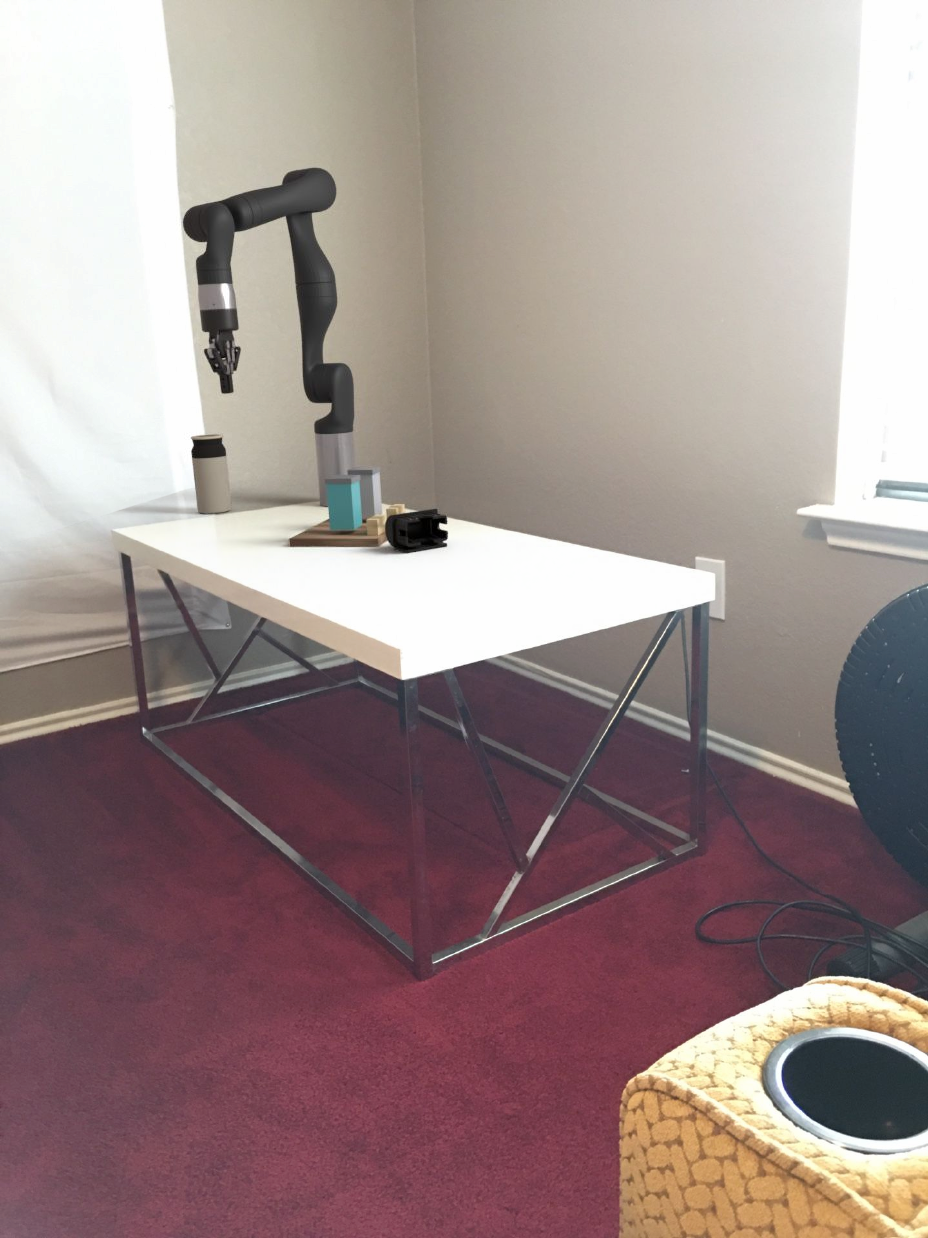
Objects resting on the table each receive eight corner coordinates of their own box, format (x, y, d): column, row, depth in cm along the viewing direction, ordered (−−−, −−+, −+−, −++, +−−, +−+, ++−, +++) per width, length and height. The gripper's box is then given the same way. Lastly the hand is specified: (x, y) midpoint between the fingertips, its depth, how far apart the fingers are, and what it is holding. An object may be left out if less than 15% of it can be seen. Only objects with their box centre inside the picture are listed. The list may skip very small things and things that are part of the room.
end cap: (430, 541, 201) (428, 506, 199) (450, 546, 195) (448, 510, 193) (385, 548, 195) (383, 513, 194) (404, 554, 190) (402, 517, 188)
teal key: (337, 524, 208) (334, 475, 205) (363, 524, 207) (360, 474, 204) (328, 529, 203) (324, 478, 200) (354, 529, 202) (351, 478, 199)
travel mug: (237, 508, 251) (230, 433, 247) (222, 514, 244) (214, 437, 239) (207, 508, 253) (199, 434, 248) (192, 514, 246) (183, 437, 241)
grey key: (359, 513, 220) (355, 466, 217) (383, 513, 219) (380, 466, 216) (350, 518, 215) (347, 470, 212) (375, 518, 214) (372, 469, 211)
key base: (335, 522, 226) (333, 502, 225) (414, 522, 222) (413, 501, 221) (289, 546, 201) (287, 523, 200) (378, 546, 197) (376, 523, 196)
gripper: (220, 306, 207) (230, 395, 212) (248, 306, 219) (257, 390, 224) (186, 308, 209) (196, 396, 213) (215, 308, 221) (225, 391, 226)
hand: (227, 393), depth 219 cm, fingers closed
